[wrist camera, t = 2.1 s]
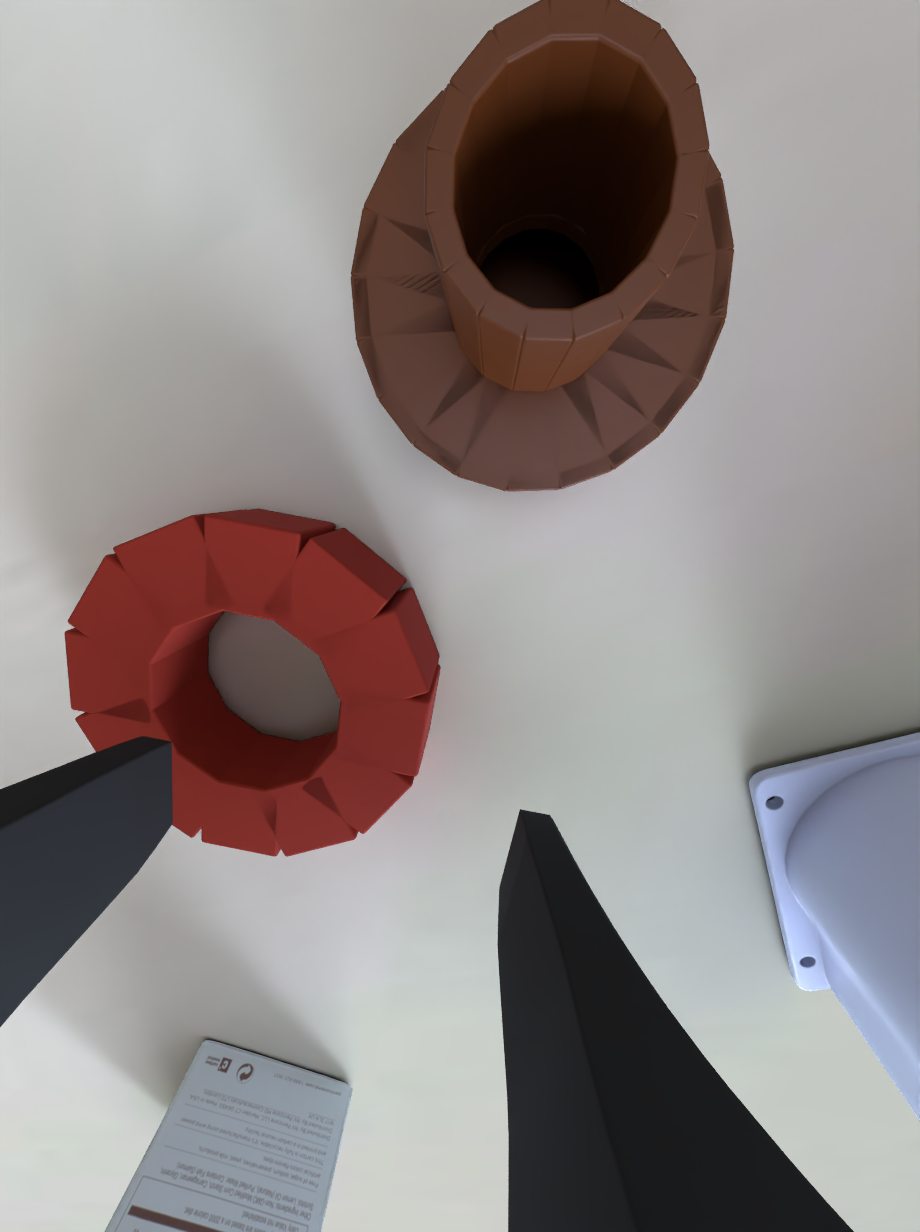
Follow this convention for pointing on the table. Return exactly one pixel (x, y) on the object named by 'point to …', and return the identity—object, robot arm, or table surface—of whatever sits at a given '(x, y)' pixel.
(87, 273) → the table surface
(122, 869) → the robot arm
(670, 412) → the brown round vase
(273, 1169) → the white packaging box
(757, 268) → the table surface
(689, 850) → the table surface
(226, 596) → the red segmented ring
